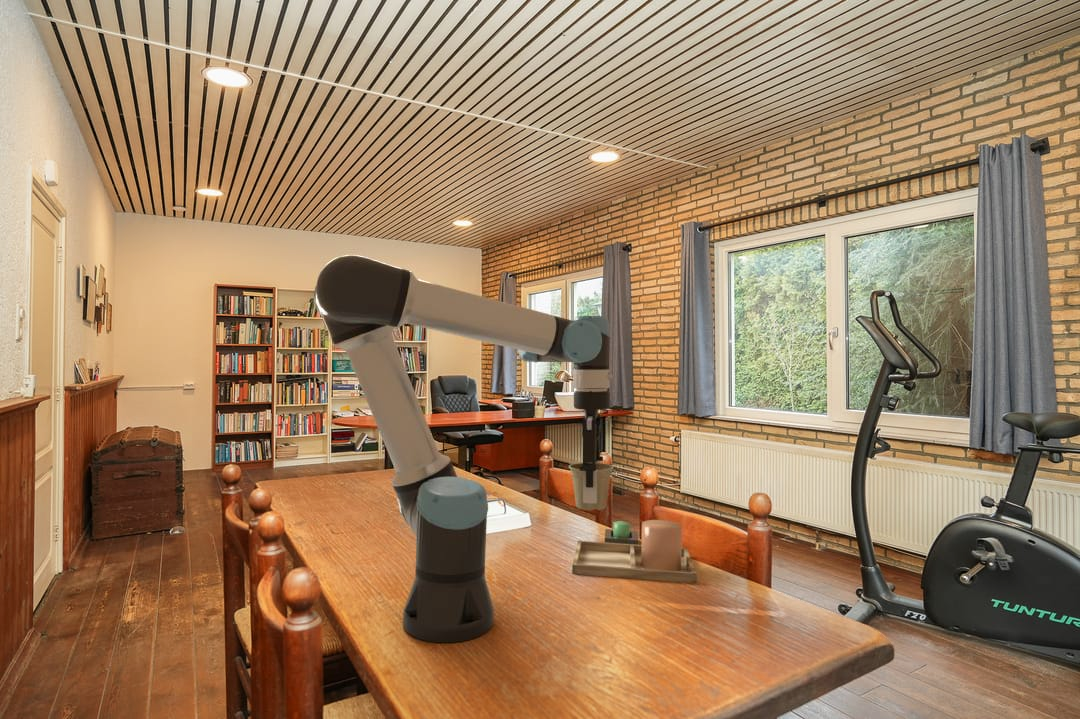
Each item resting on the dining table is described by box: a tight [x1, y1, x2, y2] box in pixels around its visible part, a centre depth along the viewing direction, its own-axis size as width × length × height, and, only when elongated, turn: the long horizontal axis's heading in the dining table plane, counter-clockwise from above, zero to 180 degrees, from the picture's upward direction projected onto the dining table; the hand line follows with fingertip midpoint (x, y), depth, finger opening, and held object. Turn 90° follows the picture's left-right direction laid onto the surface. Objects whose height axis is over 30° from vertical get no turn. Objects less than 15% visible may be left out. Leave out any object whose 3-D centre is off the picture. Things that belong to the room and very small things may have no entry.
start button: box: [612, 520, 631, 538], centre depth 147 cm, size 4×4×5 cm
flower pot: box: [568, 462, 615, 511], centre depth 125 cm, size 9×9×9 cm
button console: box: [604, 528, 640, 545], centre depth 147 cm, size 8×8×3 cm
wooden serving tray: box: [571, 540, 698, 584], centre depth 132 cm, size 18×25×3 cm
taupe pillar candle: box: [640, 519, 683, 571], centre depth 131 cm, size 9×9×9 cm
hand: (591, 497), depth 125 cm, fingers closed on flower pot, 9 cm apart
